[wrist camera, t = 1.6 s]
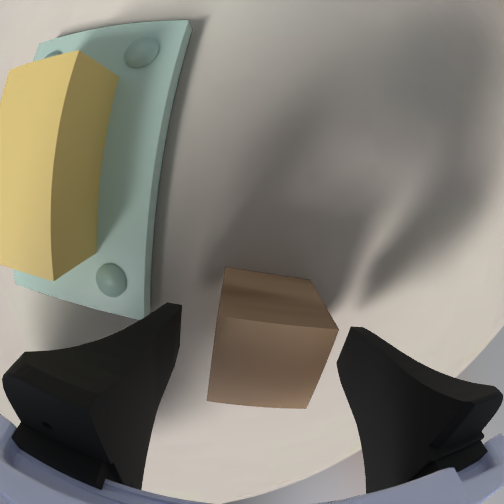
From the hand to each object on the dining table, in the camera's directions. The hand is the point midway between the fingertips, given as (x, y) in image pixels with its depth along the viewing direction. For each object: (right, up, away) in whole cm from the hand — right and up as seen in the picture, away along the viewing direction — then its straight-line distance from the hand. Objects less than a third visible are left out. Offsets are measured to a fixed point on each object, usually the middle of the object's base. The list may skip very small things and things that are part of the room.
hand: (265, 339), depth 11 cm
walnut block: (0, +1, +2) cm, 3 cm away
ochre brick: (-9, +8, -1) cm, 12 cm away
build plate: (-9, +8, 0) cm, 12 cm away
